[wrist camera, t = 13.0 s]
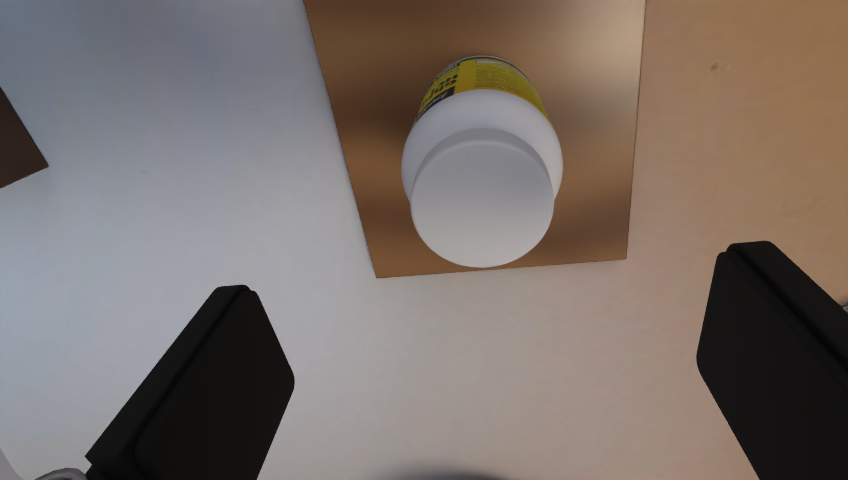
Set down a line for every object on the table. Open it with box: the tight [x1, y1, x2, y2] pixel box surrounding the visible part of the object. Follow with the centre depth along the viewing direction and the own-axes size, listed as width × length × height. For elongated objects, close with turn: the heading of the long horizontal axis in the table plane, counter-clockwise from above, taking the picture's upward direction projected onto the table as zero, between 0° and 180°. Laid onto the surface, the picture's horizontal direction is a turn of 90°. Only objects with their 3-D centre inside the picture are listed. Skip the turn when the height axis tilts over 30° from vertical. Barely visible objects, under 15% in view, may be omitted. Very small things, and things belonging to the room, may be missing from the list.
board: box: [303, 0, 646, 278], centre depth 24 cm, size 20×16×1 cm
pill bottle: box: [401, 56, 563, 268], centre depth 19 cm, size 6×6×11 cm
